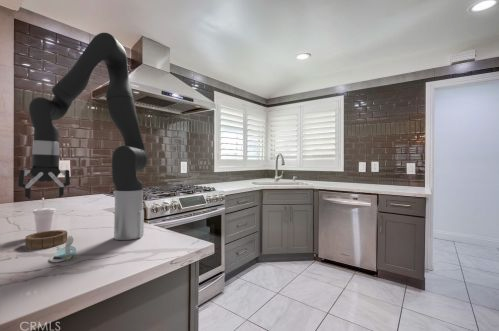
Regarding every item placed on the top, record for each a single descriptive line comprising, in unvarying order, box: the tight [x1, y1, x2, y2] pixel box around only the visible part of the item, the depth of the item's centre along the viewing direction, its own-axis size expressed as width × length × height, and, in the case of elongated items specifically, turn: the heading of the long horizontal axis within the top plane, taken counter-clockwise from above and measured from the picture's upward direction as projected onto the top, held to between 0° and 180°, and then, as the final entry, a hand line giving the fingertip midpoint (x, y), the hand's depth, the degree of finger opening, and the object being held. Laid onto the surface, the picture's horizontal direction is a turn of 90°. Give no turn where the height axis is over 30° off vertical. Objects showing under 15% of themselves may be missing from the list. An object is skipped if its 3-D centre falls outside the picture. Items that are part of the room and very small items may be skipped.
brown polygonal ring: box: [24, 229, 68, 250], centre depth 78 cm, size 10×10×3 cm
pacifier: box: [48, 235, 77, 263], centre depth 66 cm, size 7×6×6 cm
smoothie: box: [32, 197, 57, 233], centre depth 87 cm, size 6×6×14 cm
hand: (44, 197), depth 87 cm, fingers open, 8 cm apart
